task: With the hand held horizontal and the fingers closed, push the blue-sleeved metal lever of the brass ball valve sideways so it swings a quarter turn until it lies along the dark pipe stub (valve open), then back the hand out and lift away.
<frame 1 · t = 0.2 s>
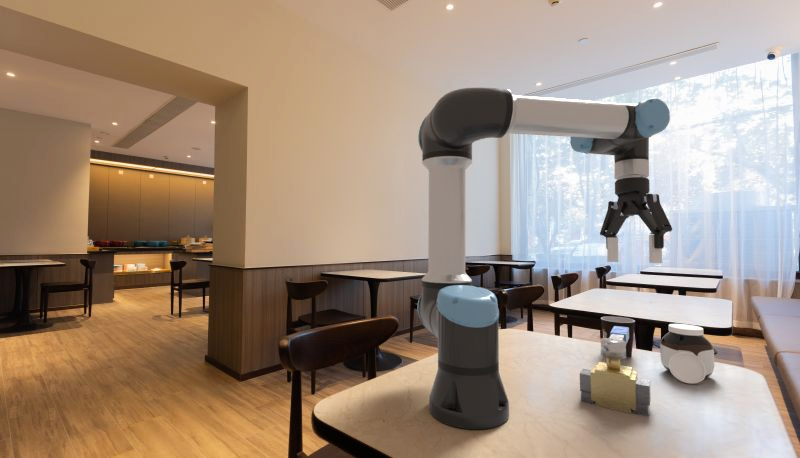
hand: (632, 262, 93), 27 cm above the table, tool pointing down, fingers open, 13 cm apart
lever: (617, 340, 81), point 11 cm above the table, hinge at 0.0°
spread jar: (688, 378, 89), on the table
valve body: (614, 403, 75), on the table
coffee mug: (619, 353, 108), on the table
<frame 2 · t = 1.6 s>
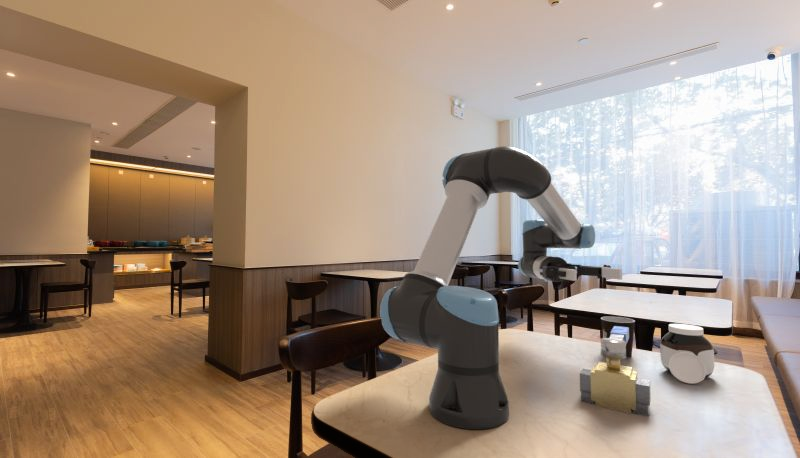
hand: (598, 274, 94), 24 cm above the table, tool horizontal, fingers open, 12 cm apart
nothing on the table moved.
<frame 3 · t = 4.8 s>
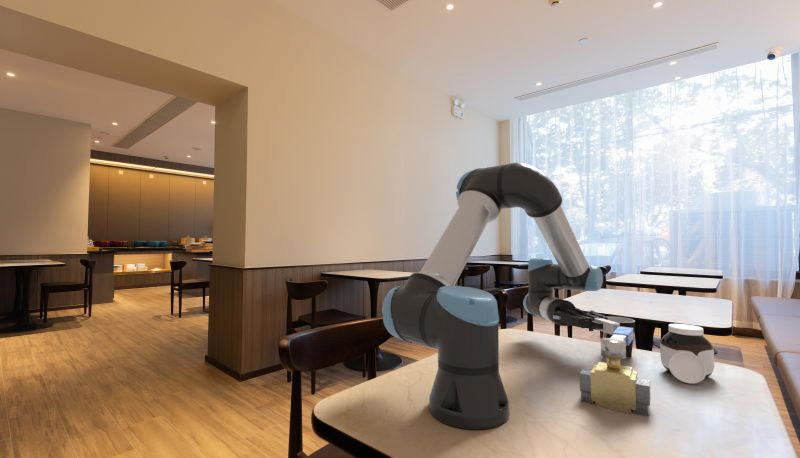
hand: (616, 329, 89), 11 cm above the table, tool horizontal, fingers closed
lever: (619, 340, 81), point 11 cm above the table, hinge at 3.0°, touching gripper
everything else where it was.
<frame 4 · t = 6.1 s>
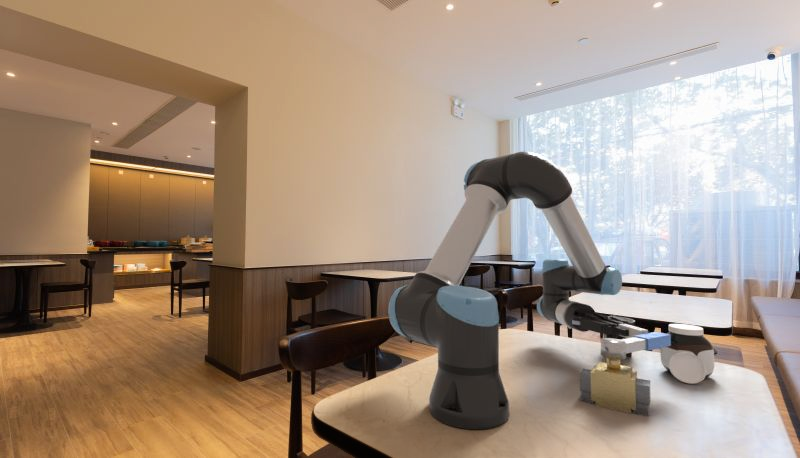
hand: (644, 336, 82), 11 cm above the table, tool horizontal, fingers closed
lever: (636, 343, 78), point 11 cm above the table, hinge at 28.8°, touching gripper
everything else where it was.
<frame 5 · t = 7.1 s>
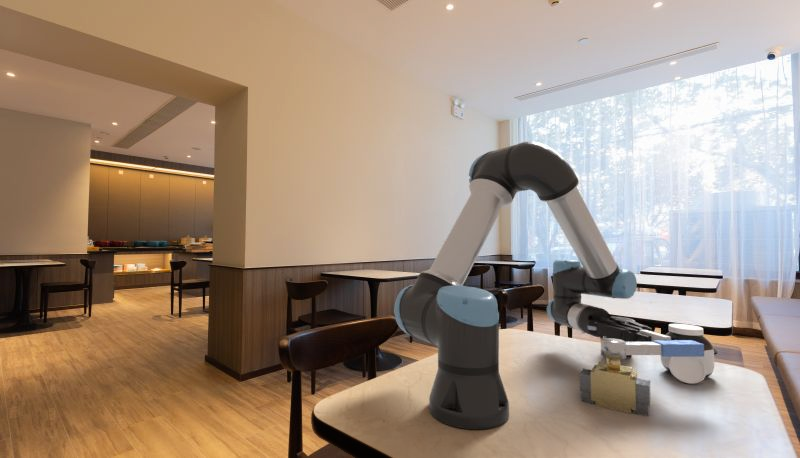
hand: (668, 343, 77), 11 cm above the table, tool horizontal, fingers closed
lever: (650, 348, 75), point 11 cm above the table, hinge at 55.0°, touching gripper
everything else where it was.
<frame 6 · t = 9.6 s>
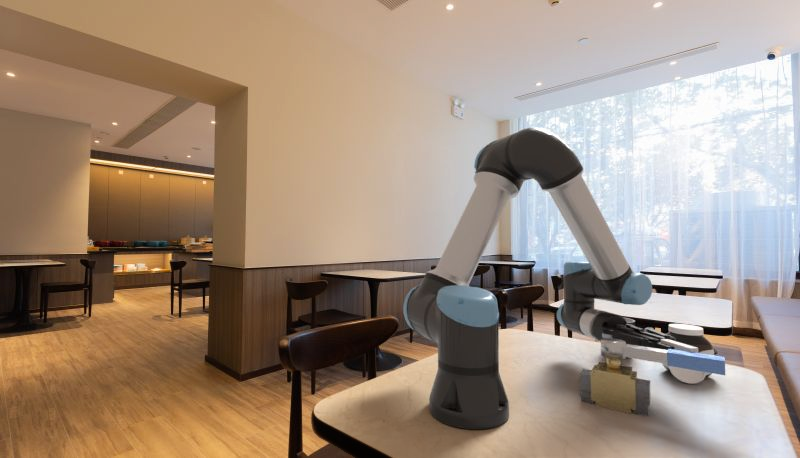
hand: (694, 355, 68), 11 cm above the table, tool horizontal, fingers closed
lever: (657, 355, 70), point 11 cm above the table, hinge at 94.0°, touching gripper
everything else where it was.
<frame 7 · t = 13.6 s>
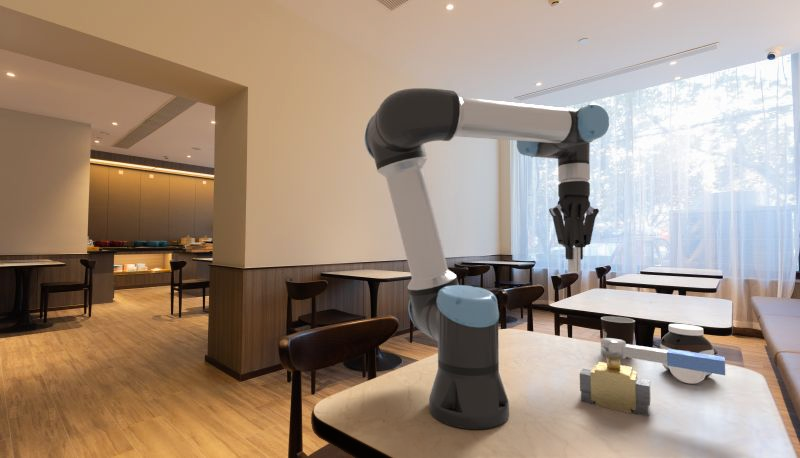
hand: (574, 272, 96), 25 cm above the table, tool pointing down, fingers closed
lever: (657, 355, 70), point 11 cm above the table, hinge at 94.0°
everything else where it was.
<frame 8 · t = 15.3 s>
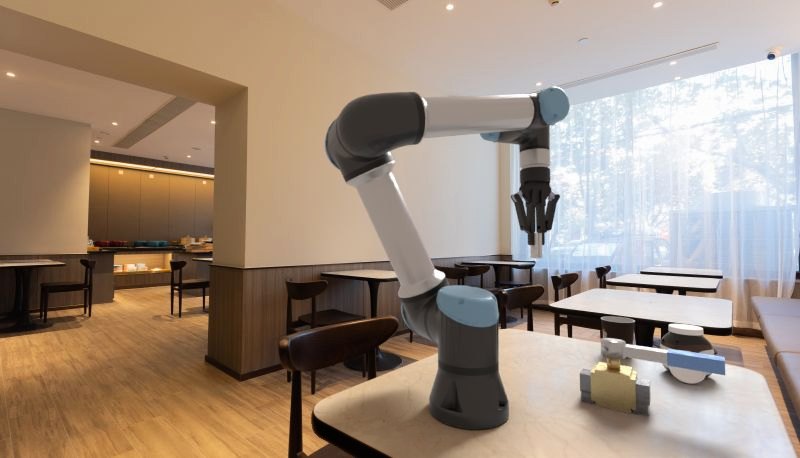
hand: (536, 257, 97), 28 cm above the table, tool pointing down, fingers closed
nothing on the table moved.
at the end: lever at +94° (first picture: +0°) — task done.
